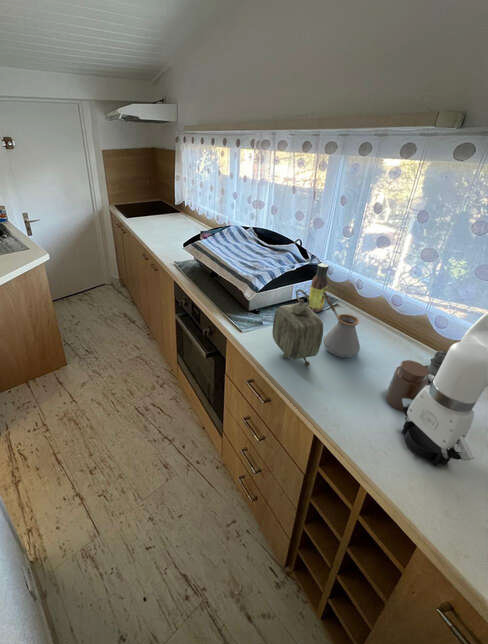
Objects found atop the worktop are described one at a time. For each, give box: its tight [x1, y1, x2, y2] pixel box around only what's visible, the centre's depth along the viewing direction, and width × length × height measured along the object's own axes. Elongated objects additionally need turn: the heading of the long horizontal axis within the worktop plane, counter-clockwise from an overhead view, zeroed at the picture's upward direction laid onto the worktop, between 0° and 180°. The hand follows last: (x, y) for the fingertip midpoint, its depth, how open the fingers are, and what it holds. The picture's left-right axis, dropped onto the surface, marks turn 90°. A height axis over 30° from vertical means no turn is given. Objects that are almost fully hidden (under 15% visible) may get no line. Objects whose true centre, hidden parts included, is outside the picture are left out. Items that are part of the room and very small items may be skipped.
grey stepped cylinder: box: [424, 349, 447, 386], centre depth 90 cm, size 6×6×12 cm
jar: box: [384, 359, 429, 413], centre depth 83 cm, size 7×7×12 cm
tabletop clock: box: [271, 289, 324, 367], centre depth 97 cm, size 14×9×25 cm, turn 13°
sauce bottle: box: [306, 262, 330, 313], centre depth 125 cm, size 6×6×20 cm
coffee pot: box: [320, 291, 361, 358], centre depth 106 cm, size 21×12×15 cm, turn 9°
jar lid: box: [403, 424, 442, 462], centre depth 73 cm, size 8×8×3 cm
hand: (422, 447), depth 74 cm, fingers closed on jar lid, 7 cm apart
